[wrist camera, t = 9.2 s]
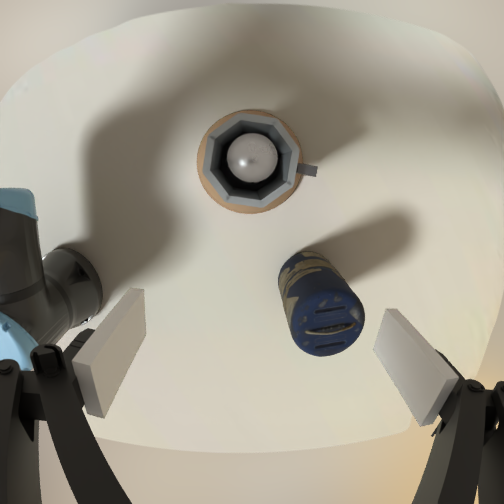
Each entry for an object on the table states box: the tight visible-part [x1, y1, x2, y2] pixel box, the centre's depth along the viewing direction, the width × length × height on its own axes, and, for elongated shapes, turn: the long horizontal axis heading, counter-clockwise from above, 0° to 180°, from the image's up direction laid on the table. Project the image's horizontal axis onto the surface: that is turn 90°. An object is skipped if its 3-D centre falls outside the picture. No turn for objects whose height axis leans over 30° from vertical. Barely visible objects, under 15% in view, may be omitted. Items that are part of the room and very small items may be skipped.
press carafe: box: [197, 110, 318, 214], centre depth 38 cm, size 16×16×14 cm
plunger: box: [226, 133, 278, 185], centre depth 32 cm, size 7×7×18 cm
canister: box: [278, 252, 365, 357], centre depth 41 cm, size 10×10×18 cm
